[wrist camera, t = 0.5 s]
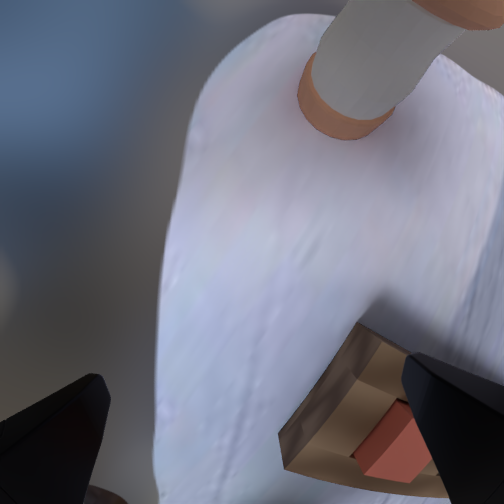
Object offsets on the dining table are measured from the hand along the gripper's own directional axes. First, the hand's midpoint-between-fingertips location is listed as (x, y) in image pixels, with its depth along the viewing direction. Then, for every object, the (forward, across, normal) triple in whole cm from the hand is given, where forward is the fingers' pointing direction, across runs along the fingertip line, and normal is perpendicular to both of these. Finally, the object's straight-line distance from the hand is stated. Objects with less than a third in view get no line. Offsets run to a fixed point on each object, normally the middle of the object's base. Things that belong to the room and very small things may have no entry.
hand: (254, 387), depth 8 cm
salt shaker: (+18, -8, -11) cm, 23 cm away
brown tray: (+12, -16, +18) cm, 27 cm away
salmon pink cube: (+8, -11, +14) cm, 20 cm away
